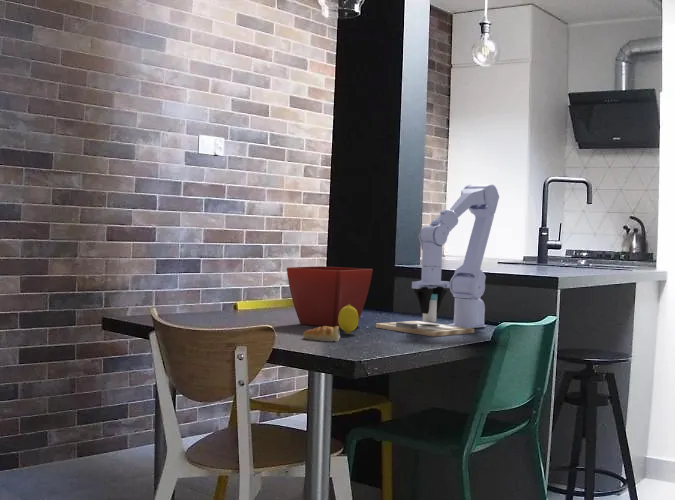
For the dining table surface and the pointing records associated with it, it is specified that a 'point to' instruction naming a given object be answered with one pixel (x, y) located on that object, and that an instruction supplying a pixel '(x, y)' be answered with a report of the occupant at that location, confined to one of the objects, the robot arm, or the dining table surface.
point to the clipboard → (425, 328)
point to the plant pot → (327, 292)
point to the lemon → (348, 318)
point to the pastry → (323, 333)
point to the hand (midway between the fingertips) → (429, 313)
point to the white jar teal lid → (431, 310)
